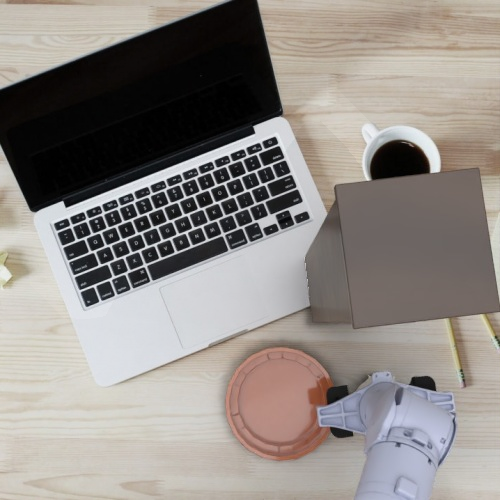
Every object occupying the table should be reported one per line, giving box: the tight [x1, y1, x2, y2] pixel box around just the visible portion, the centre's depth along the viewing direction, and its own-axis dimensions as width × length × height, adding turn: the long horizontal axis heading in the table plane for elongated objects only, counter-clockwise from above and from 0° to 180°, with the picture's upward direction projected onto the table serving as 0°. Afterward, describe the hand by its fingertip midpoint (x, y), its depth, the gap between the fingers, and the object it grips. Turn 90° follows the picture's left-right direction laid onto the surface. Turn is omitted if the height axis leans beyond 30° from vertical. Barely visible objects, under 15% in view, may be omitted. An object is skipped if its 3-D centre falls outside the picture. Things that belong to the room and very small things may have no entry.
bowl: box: [224, 345, 335, 462], centre depth 85 cm, size 13×13×4 cm
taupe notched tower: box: [304, 166, 500, 330], centre depth 65 cm, size 9×9×47 cm
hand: (373, 400), depth 85 cm, fingers open, 7 cm apart
